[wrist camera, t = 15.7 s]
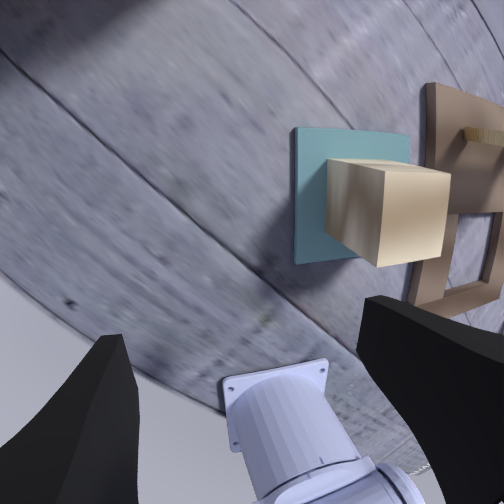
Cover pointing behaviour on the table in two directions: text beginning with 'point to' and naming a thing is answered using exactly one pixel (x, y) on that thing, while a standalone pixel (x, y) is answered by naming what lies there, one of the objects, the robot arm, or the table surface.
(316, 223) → the teal square plate
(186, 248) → the table surface
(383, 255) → the birch block
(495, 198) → the puzzle board
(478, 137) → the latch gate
